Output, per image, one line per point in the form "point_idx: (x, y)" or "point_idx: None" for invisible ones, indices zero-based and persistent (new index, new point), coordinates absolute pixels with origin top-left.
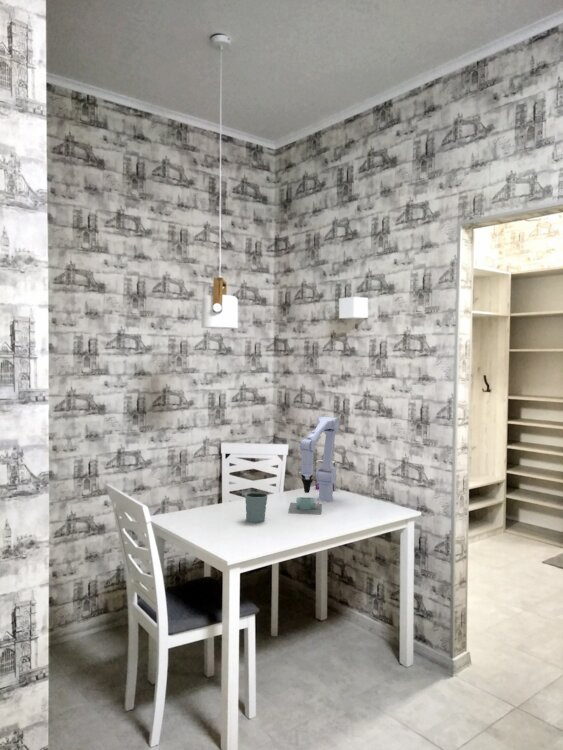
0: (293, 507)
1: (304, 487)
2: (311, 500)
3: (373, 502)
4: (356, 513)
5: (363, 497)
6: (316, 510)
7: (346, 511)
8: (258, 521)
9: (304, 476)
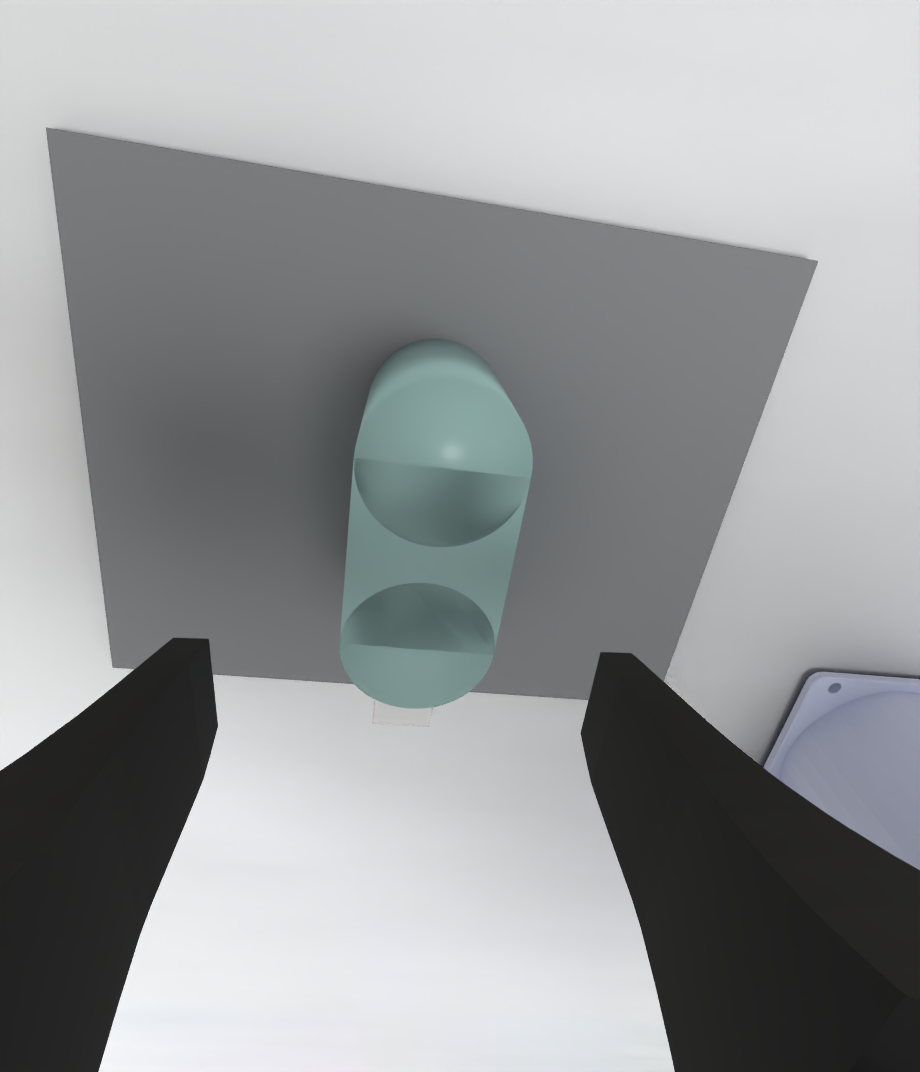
0: (481, 288)
1: (64, 744)
2: (342, 648)
3: (666, 1050)
4: (293, 946)
5: None
6: (319, 626)
7: (359, 886)
8: None
9: (814, 1056)
